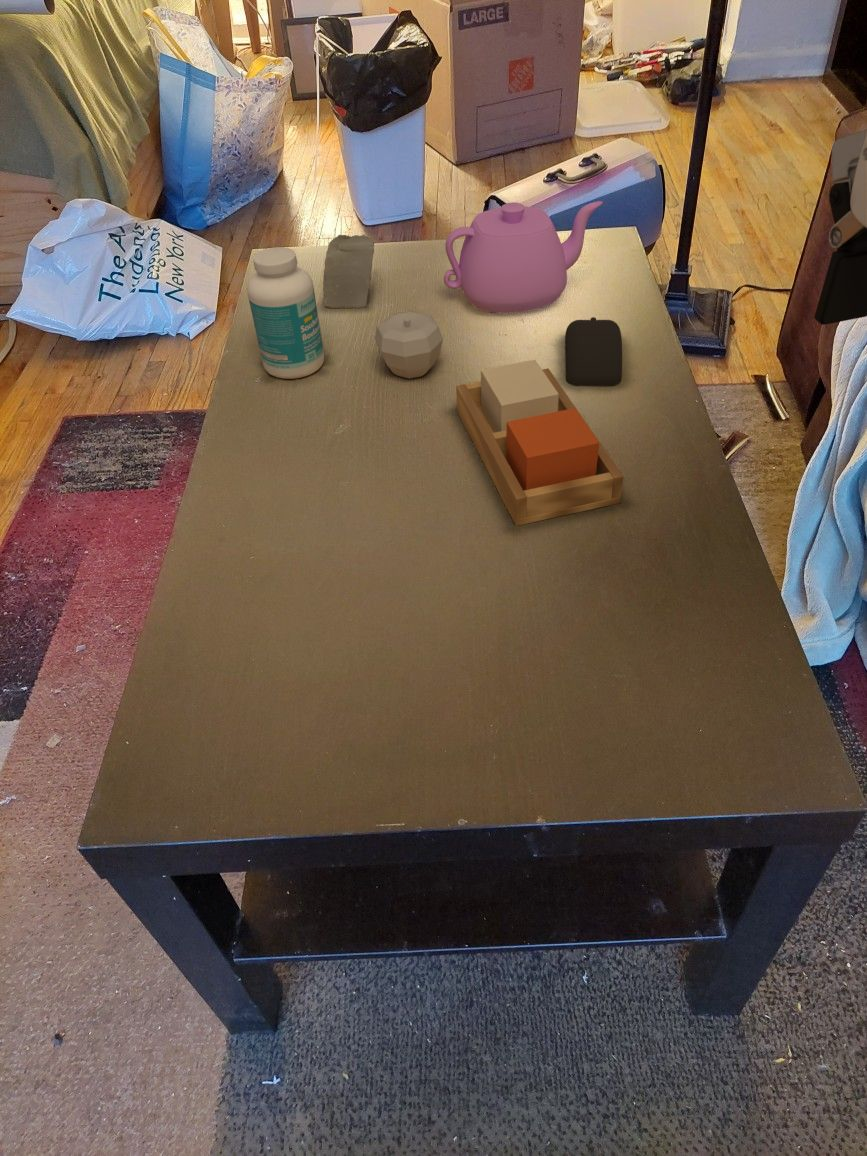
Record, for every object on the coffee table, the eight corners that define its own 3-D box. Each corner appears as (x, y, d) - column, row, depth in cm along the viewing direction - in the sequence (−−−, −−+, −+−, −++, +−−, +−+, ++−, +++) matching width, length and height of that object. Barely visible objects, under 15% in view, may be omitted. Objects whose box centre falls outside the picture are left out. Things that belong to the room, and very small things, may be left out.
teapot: (451, 328, 105) (448, 235, 97) (438, 281, 115) (434, 192, 106) (608, 311, 106) (617, 218, 98) (582, 265, 116) (589, 176, 107)
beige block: (533, 399, 92) (535, 359, 88) (556, 435, 87) (559, 393, 83) (481, 410, 91) (480, 369, 87) (501, 446, 86) (501, 405, 82)
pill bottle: (321, 380, 98) (303, 269, 89) (259, 383, 99) (234, 272, 89) (328, 348, 104) (311, 239, 94) (269, 350, 104) (246, 242, 94)
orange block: (571, 449, 85) (575, 407, 81) (595, 485, 80) (599, 442, 77) (505, 463, 84) (506, 421, 80) (525, 500, 79) (527, 457, 76)
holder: (547, 393, 94) (548, 367, 91) (620, 503, 80) (624, 476, 78) (457, 411, 92) (455, 385, 90) (515, 526, 78) (516, 499, 76)
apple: (364, 369, 100) (357, 318, 95) (416, 346, 103) (412, 295, 98) (405, 397, 95) (400, 344, 90) (458, 371, 98) (456, 319, 94)
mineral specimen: (391, 300, 110) (372, 243, 104) (329, 319, 111) (306, 263, 105) (389, 273, 115) (370, 217, 109) (329, 291, 116) (308, 237, 110)
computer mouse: (617, 335, 102) (620, 304, 99) (622, 386, 94) (626, 354, 91) (564, 335, 103) (566, 304, 100) (565, 385, 95) (567, 354, 92)
